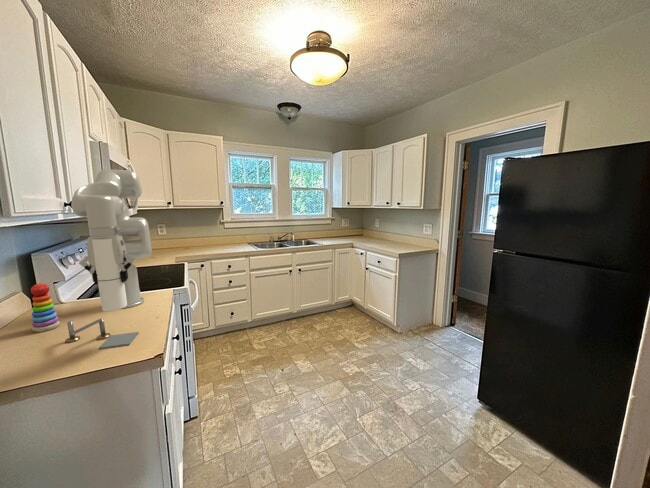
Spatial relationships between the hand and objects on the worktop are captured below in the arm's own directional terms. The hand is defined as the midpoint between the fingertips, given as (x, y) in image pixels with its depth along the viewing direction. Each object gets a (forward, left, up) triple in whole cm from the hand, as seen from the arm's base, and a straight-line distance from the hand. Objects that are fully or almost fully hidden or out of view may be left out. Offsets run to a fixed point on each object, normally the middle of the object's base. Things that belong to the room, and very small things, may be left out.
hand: (111, 282), depth 95 cm
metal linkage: (-1, -12, -22) cm, 25 cm away
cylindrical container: (0, 0, -9) cm, 9 cm away
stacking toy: (-21, -33, -22) cm, 45 cm away
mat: (0, 0, -22) cm, 22 cm away
